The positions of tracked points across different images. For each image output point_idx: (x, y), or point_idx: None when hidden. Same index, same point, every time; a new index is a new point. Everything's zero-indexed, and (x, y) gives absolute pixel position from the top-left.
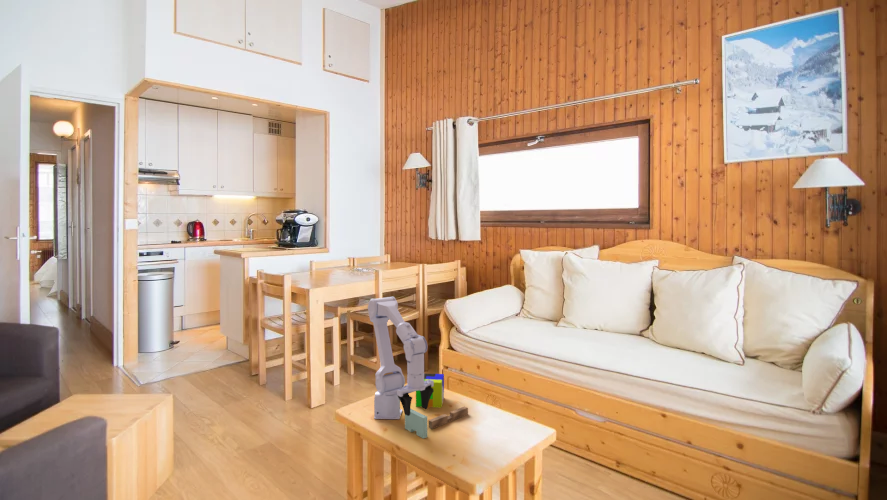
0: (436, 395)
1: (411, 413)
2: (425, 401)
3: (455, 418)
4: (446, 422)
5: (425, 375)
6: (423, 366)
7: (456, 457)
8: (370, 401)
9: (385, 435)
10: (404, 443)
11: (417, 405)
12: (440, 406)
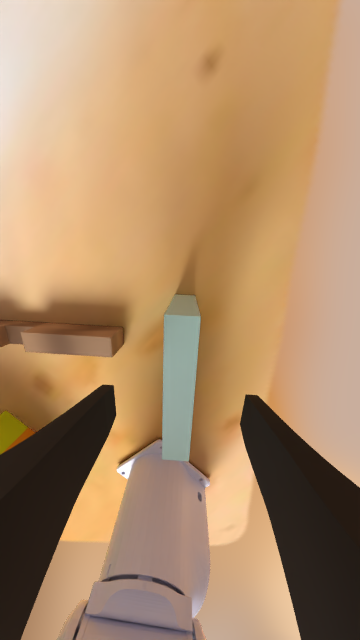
0: None
1: (192, 412)
2: (78, 438)
3: (4, 321)
4: (50, 323)
5: None
6: None
7: (219, 26)
8: None
9: (263, 397)
10: (267, 317)
11: None
12: (4, 415)
